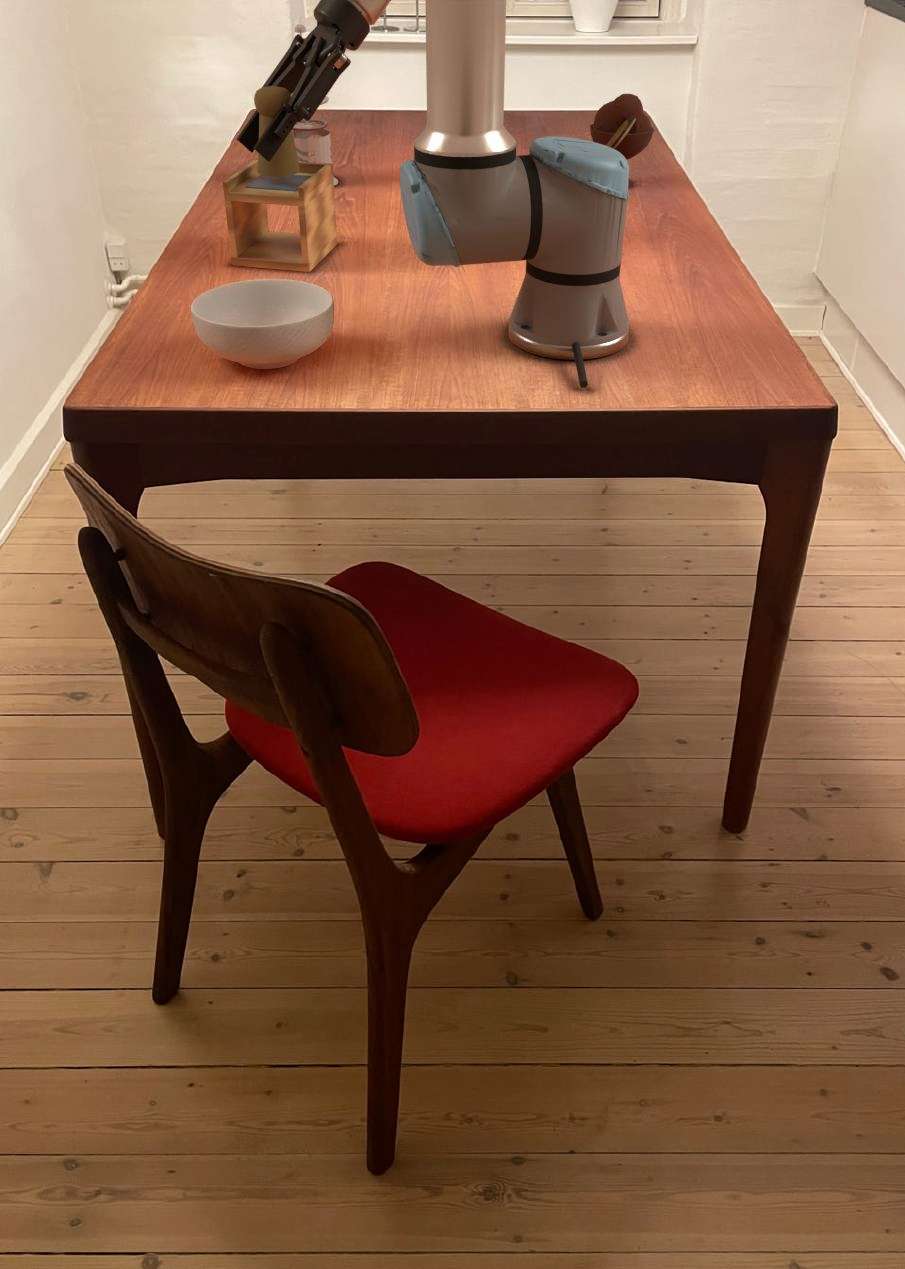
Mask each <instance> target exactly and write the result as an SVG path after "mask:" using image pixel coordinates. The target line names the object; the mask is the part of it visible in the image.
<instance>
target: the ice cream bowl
mask: <svg viewBox="0 0 905 1269" xmlns="http://www.w3.org/2000/svg"><path fill="white" fill-rule="evenodd" d="M633 116H635V119H636V120H635V122H634V124H633V126H632V127H631V129H630V130H629V132H628V133H627V134H626V136H625V137H624V138H623V140H622V141H621V142H620V143H619V145H618V146H617V147H616V148H615V150H617V151H618V152H620V153H621V154H622V155H623V156H624V157H625V158H626V160H627V161H628V160H630V159H632V158H634V157H636V156H637V155H639V154H640V153H642V151H643V150H644V149H646V148H647V147H648V146H649V144H650V142H651V140H652V139H653V134H654V131H655V129H654V128H653V126H652V124H651V121H650V118H649V117H648V116H647V115H646V114H645V113H644V106H643V103H642V101H641V99H640V98H639V96H638V95H635V94H633V93H621V94H620V95H619V96H617V97H615V98H614V99H613V100H611V101H609V102H607V103H604V104H603V105H601V107H599V109H598V110H597V112H596V114H595V115H594V120H593V123H592V124H590V125H589V131H590V137H591V140H592V142H595V143H599V144H602V145H605V146H606V145H607V143H608V142H609V141H610V139H611V138H612V136H613V135H614V134H615V132H616V131H617V130H618V129H619V127H620V126H621V125H622V124H623V123H624V122H625V121H626V120H627V119H629V118H631V117H633ZM632 186H633V182H632V180H631V179H630V178H628V188H630V187H632Z"/></svg>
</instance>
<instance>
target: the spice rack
mask: <svg viewBox="0 0 905 1269" xmlns="http://www.w3.org/2000/svg"><path fill="white" fill-rule="evenodd" d="M298 162H299V167H300V172H299V173H297V174H294V175H291V176H283V177H271V176H264V175H261V174H259V173H258V157H257V158H255V159H253V160H252V161H250V162H249V163H248V164H246V165H245V166H243V167H241V168H240V169H239V170H238V171H236V172H235V173H233V174H232V175H230V176H229V177H227V178H226V179H224V180H223V181H222V189H223V198H224V207H225V216H226V224H227V233H228V241H229V252H230V260H231V266H236V267H246V268H247V267H248V268H257V269H258V268H259V269H270V270H279V271H280V270H281V271H290V272H302V273H310V272H311V271H312V270H313V269H314V268H315V267H316V266H317V265H318V264H319V263H320V262H322V260H323V259H324V258H326V256H327V255H328V254H329V253H330V252H331V251H332V250H333V249H334V248H335V247H337V245H338V237H337V236H338V234H337V218H336V198H335V185H334V181H333V176H334V166H333V163H331V164H329V163H315V162H316V161H312V162H311V161H308V162H300V161H298ZM267 205H276V206H277V205H278V206H289V207H297V209H298V210H297V211H298V221H299V222H298V223H299V233H297V232H286V231H275V230H274V231H273V230H270V226H269V216H268V215H269V214H268V207H267Z"/></svg>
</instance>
